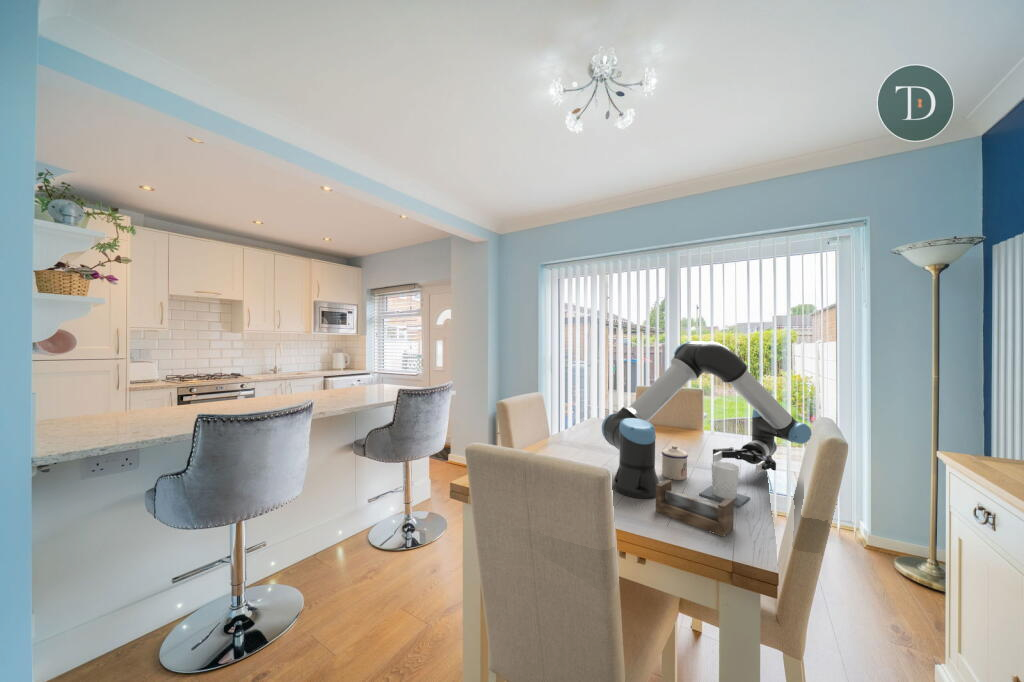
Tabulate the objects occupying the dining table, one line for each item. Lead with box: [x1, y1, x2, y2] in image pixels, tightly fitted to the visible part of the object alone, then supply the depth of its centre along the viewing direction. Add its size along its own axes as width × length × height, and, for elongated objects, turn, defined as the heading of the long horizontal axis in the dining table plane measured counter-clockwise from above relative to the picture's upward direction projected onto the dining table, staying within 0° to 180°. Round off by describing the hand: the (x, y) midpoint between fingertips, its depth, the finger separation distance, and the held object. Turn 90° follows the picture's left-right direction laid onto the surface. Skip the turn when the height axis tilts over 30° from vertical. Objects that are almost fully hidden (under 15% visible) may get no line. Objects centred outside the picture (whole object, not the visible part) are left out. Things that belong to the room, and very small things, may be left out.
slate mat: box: [698, 485, 751, 508], centre depth 124 cm, size 12×10×1 cm
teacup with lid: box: [661, 444, 689, 481], centre depth 144 cm, size 12×9×12 cm
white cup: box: [711, 460, 740, 499], centre depth 124 cm, size 8×8×10 cm
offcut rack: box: [655, 478, 735, 537], centre depth 108 cm, size 19×7×8 cm, turn 41°
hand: (734, 463), depth 130 cm, fingers open, 13 cm apart
